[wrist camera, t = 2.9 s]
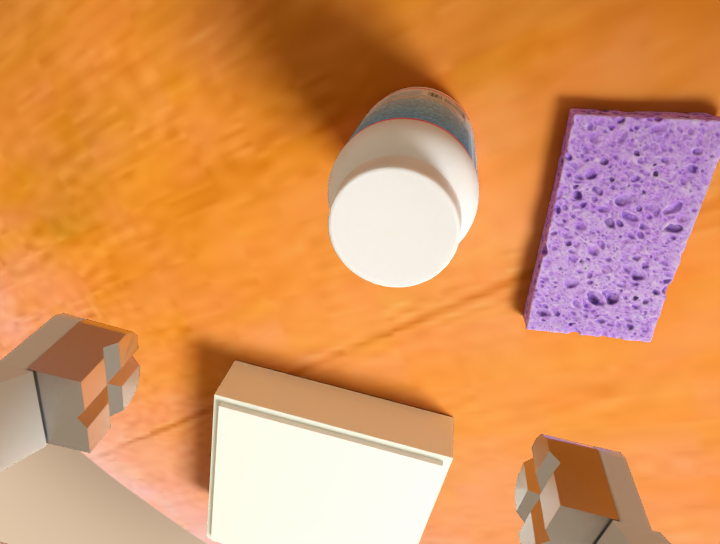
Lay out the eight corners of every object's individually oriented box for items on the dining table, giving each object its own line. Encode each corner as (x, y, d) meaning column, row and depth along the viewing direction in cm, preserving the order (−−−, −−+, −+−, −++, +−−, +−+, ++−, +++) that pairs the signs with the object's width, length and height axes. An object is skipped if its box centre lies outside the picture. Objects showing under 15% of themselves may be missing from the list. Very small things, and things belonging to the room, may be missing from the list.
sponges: (521, 312, 32) (524, 329, 30) (567, 101, 26) (574, 109, 24) (641, 326, 31) (651, 345, 29) (720, 111, 25) (737, 120, 23)
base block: (453, 417, 36) (452, 463, 33) (403, 549, 44) (397, 597, 41) (235, 360, 37) (211, 398, 34) (224, 499, 45) (204, 542, 42)
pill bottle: (339, 122, 28) (272, 195, 18) (441, 61, 25) (429, 106, 16) (394, 216, 30) (361, 327, 20) (494, 167, 27) (512, 266, 18)
